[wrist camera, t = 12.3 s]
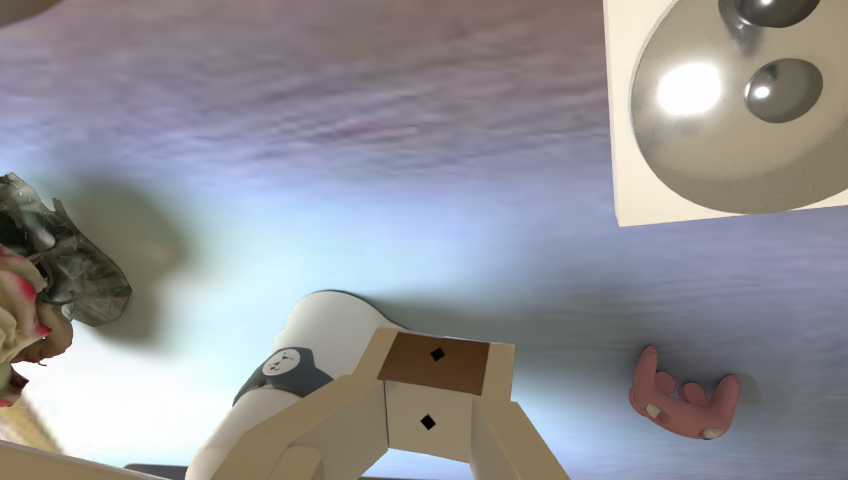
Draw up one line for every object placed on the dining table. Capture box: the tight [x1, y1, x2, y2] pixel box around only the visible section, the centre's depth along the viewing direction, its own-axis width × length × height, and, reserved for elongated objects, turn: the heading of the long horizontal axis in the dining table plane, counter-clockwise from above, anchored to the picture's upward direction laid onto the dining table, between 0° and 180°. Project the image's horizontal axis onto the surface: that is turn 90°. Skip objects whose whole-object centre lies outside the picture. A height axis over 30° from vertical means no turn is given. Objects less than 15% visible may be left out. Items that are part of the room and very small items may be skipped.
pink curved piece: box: [629, 346, 740, 440], centre depth 47 cm, size 10×5×7 cm, turn 74°
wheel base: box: [603, 0, 848, 227], centre depth 34 cm, size 20×20×3 cm
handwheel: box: [628, 0, 848, 214], centre depth 29 cm, size 18×18×8 cm
